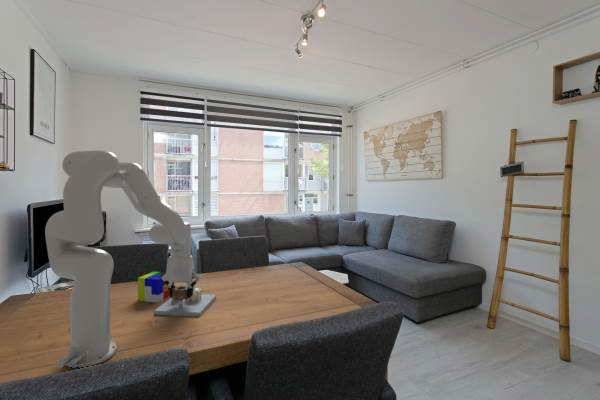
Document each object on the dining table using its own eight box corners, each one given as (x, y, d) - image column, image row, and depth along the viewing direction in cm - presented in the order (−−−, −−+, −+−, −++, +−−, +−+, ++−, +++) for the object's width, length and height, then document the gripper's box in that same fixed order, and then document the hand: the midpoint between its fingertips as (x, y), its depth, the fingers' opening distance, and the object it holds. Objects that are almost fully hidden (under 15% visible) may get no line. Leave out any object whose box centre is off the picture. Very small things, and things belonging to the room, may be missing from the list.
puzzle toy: (158, 302, 127) (158, 279, 127) (138, 300, 129) (137, 277, 129) (172, 294, 137) (172, 273, 136) (153, 292, 139) (153, 271, 138)
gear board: (199, 316, 114) (199, 295, 114) (154, 314, 115) (154, 294, 115) (216, 298, 133) (216, 280, 133) (177, 296, 134) (177, 279, 134)
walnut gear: (185, 301, 117) (185, 291, 117) (169, 300, 117) (169, 290, 117) (192, 295, 123) (192, 285, 123) (177, 294, 123) (177, 285, 123)
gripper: (154, 254, 116) (155, 299, 117) (198, 255, 115) (198, 301, 116) (164, 250, 123) (165, 292, 124) (205, 251, 122) (205, 294, 123)
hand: (181, 296), depth 120 cm, fingers closed on walnut gear, 6 cm apart
